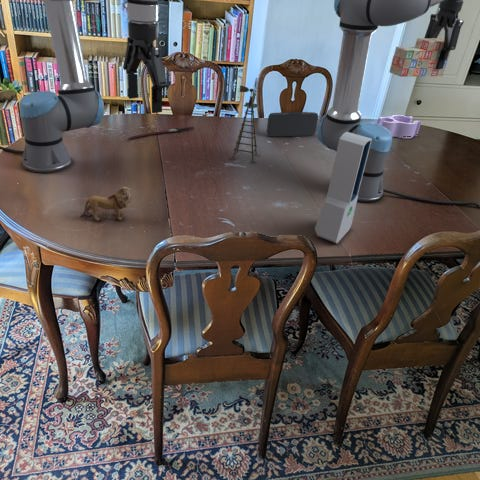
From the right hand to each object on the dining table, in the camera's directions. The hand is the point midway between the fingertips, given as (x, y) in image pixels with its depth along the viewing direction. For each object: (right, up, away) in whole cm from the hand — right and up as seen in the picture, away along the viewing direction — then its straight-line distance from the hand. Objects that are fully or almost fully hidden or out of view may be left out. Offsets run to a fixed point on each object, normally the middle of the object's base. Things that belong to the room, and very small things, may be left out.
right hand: (432, 66), depth 176 cm
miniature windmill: (-71, -34, +4) cm, 79 cm away
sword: (-105, -22, +16) cm, 109 cm away
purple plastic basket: (+1, -16, +44) cm, 47 cm away
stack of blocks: (-7, -4, -1) cm, 8 cm away
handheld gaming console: (-50, -20, +29) cm, 62 cm away
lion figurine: (-111, -59, -42) cm, 132 cm away
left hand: (-99, -28, -47) cm, 113 cm away
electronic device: (-45, -64, -38) cm, 87 cm away
